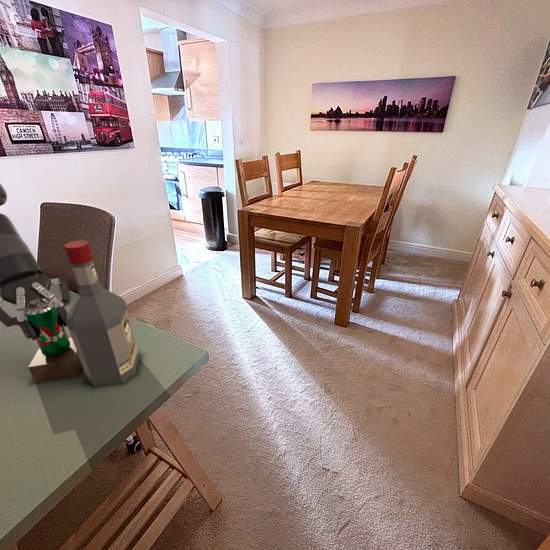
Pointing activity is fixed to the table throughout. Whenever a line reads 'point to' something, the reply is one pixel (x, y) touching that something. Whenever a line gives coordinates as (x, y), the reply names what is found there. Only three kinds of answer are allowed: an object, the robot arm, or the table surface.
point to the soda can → (47, 326)
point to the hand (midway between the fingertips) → (51, 331)
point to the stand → (55, 364)
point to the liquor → (99, 323)
